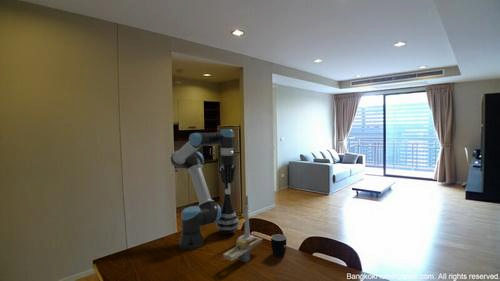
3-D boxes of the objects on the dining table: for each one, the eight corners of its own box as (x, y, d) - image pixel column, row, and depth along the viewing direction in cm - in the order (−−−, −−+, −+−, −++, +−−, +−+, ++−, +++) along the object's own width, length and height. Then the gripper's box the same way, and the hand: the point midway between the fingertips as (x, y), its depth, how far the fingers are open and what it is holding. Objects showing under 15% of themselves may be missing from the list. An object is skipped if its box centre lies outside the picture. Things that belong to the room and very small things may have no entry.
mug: (285, 259, 145) (285, 241, 145) (269, 257, 147) (269, 239, 147) (288, 249, 156) (287, 233, 156) (273, 248, 159) (273, 231, 158)
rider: (236, 249, 144) (236, 240, 143) (242, 246, 148) (241, 237, 147) (244, 252, 140) (244, 243, 140) (249, 248, 144) (249, 240, 144)
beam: (223, 268, 135) (222, 253, 135) (254, 249, 158) (254, 236, 158) (231, 272, 132) (231, 257, 131) (262, 251, 154) (262, 238, 154)
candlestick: (256, 244, 165) (256, 197, 164) (236, 244, 165) (236, 197, 164) (256, 236, 178) (256, 192, 177) (238, 236, 178) (237, 193, 177)
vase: (243, 232, 185) (242, 191, 184) (226, 239, 173) (226, 195, 172) (228, 227, 196) (227, 188, 195) (211, 233, 184) (211, 192, 183)
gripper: (224, 156, 148) (225, 197, 148) (239, 154, 158) (239, 192, 159) (215, 155, 152) (215, 195, 153) (229, 153, 163) (230, 191, 163)
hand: (227, 193), depth 156 cm, fingers closed
